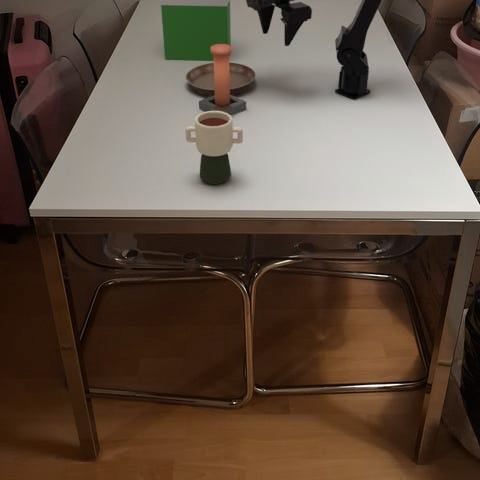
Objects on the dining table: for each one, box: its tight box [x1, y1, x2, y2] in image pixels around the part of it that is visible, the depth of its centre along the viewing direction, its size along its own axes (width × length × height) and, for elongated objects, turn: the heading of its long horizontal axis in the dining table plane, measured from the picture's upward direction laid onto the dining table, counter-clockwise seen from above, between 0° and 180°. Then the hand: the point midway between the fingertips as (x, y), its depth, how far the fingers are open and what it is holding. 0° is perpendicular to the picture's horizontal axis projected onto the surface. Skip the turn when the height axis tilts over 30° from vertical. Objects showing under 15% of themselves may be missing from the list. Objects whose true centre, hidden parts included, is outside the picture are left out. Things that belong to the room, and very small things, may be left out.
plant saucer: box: [185, 61, 256, 97], centre depth 165 cm, size 18×18×3 cm
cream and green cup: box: [185, 111, 244, 185], centre depth 125 cm, size 11×7×13 cm, turn 86°
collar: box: [198, 94, 247, 116], centre depth 154 cm, size 8×8×2 cm
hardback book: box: [160, 0, 232, 62], centre depth 175 cm, size 18×7×24 cm, turn 85°
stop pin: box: [211, 44, 233, 108], centre depth 150 cm, size 5×5×15 cm
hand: (275, 39), depth 155 cm, fingers open, 9 cm apart
